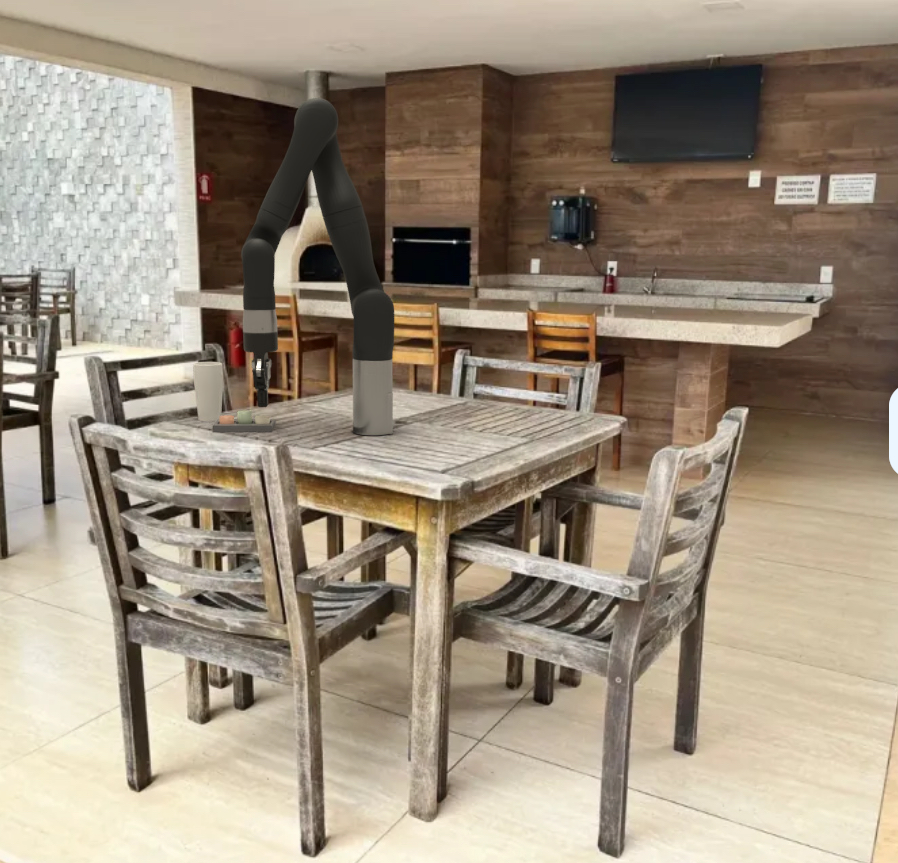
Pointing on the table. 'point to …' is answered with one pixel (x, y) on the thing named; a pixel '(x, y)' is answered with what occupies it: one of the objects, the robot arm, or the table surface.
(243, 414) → the button sage
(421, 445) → the table surface
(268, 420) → the button cream
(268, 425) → the dark grey tray
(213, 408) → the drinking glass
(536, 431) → the table surface
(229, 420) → the button terracotta
